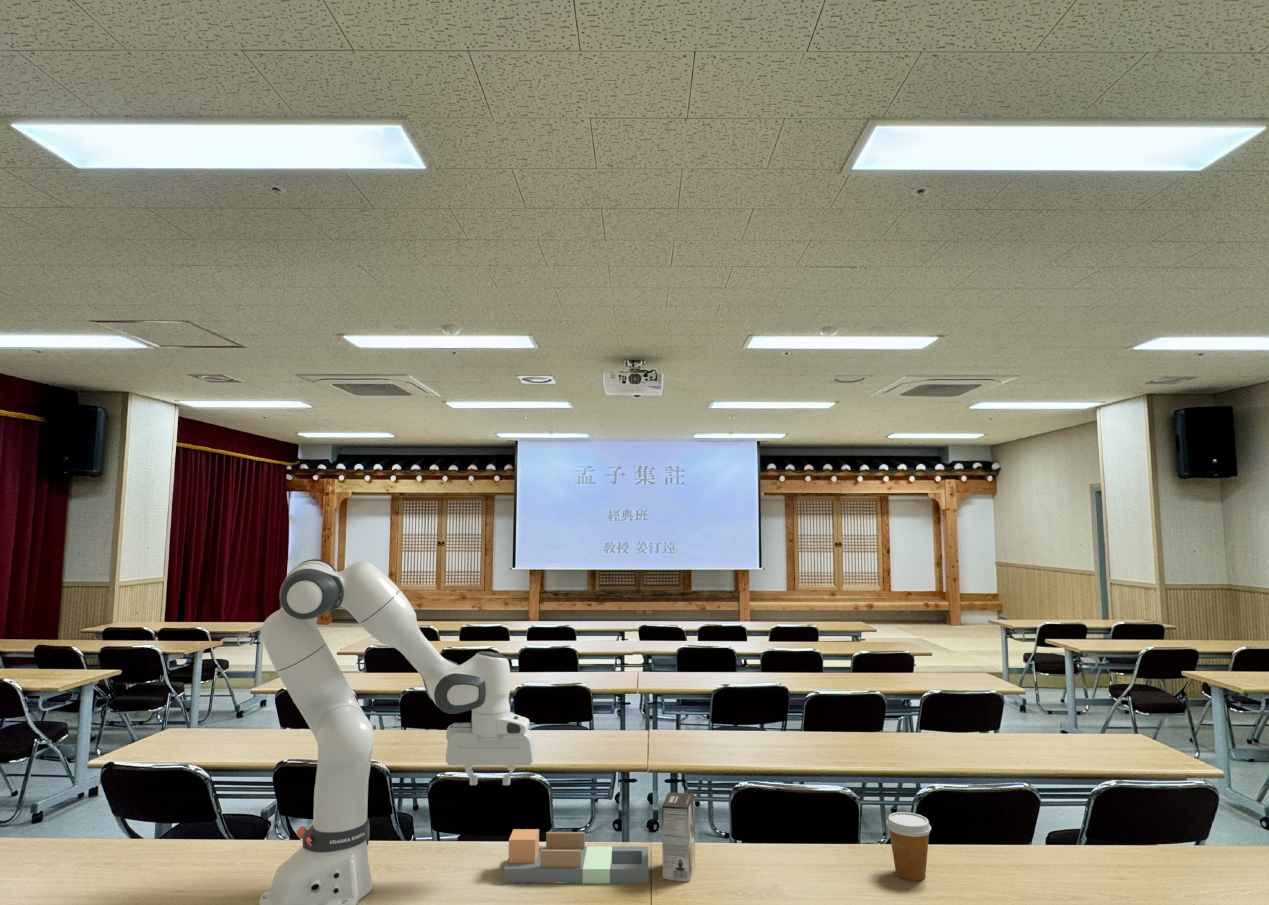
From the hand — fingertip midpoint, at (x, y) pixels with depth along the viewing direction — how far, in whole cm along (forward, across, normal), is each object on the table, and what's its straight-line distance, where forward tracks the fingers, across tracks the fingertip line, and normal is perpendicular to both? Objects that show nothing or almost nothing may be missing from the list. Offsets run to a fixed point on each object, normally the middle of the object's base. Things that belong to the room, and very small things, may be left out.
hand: (490, 784), depth 176 cm
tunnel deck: (+19, +21, 0) cm, 28 cm away
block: (+16, +8, 0) cm, 18 cm away
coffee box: (+19, +44, 0) cm, 48 cm away
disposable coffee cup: (+19, +96, -1) cm, 97 cm away
